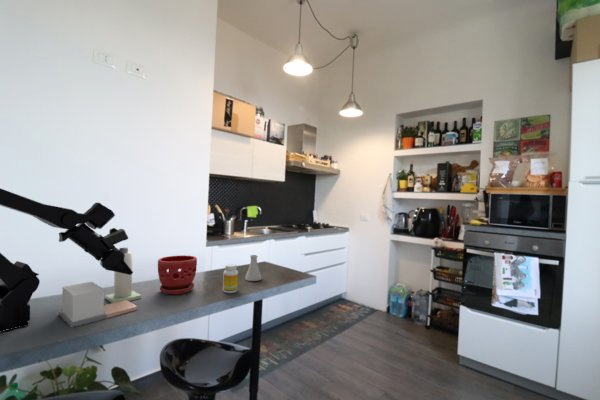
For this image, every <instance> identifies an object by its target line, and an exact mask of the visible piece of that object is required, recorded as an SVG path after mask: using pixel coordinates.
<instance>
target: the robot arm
mask: <svg viewBox="0 0 600 400" xmlns="http://www.w3.org/2000/svg"><path fill="white" fill-rule="evenodd" d="M0 206H1V207H3V208H6V209H10V210H13V211H16V212H19V213H22V214H26V215H29V216H32V217H33V218H36V219H37V220H39V221H40V222H42V223H44V224H46V225H48V226H50V227H52V228H57V229H62V230H63V229H64V230H65V231H61V232H59V233H58V236H59V238H58V242H59V243H61V242H62V243H63V242H65V241H67V240H70V241H71V242H72V243H74V244H75V245H77V246H78V247H79V248H81V249H82V250H83V251H84V252H85V253H88V254H89V255H90V256H92V257H93V258H94V259H95V260H96V261H97V262H99V265H100V266H101V267H102V268H103V269H105V270H106V271H111V272H114V271H115V272H119V273H124V274H128V275H131V274H132V275H133V273H134V271H133V269H132V270H131V269H130V268H129V266H128V265H127V264H126V263H125V262H124V257H125V255H124V253H123V252H121V251H120V250H119V249H118V248H117V247H116V245H117V244H119V243H122V242H124V241H127V240H128V239H129V235H128V234H127V232H126V230H125V229H124V228H119V229H117V228H115V227H113V228H110V229H109V232H108V234H106V235H105V236H103V235H102V234H98V232H96V231H95V230H96V229H99V230H102V229H103V227H105V225H107V224H108V223H109V222H110V221H111V220H112V219H113V218H114V217H115V216H116V215H115V212H114V211H113V210H111V209H110V208H109V207H106V206H105V205H103V204H102V203H101V202H94V203H93V204H92V206H91V207H90V208H89V209H87V210H85V212H84V213H82V212H81V213H80V212H78V211H76V210H74V209H70V208H66V207H60V206H56V205H55V206H54V205H50V204H45V203H42V202H38V201H36V200H33V199H31V198H28V197H25V196H22V195H20V194H17V193H14V192H12V191H8V190H6V189H4V188H0ZM39 275H40V274H39V273H37V272H35V271H33V269H32V268H31V267H30V265H29V264H28V263H25V262H22V261H18V260H17V261H15V262H14V263H13V262H12V261H11V260H9V259H8V258H7V257H6V256H5V255H3V254H2V253H1V252H0V331H3V330H6V329H11V328H15V327H19V326H24V325H28V324H29V321H30V320H31V305H30V304H29V302H30V300H31V298H32V296H33V294H34V293H35V291H37V289H38V287H39V286H40V282H41V281H40V279H39V277H38V276H39ZM28 326H29V325H28ZM24 327H25V326H24ZM3 332H4V331H3Z"/></svg>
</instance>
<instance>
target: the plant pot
mask: <svg viewBox="0 0 600 400" xmlns="http://www.w3.org/2000/svg"><path fill="white" fill-rule="evenodd" d="M197 266H198V258H197V257H196V256H193V255H170V256H164V257H160V258H159V259H158V260H157V273H158V275H157V276H158V279H159V282H160V284H161V285H160V286H159V290H160V292H161V293H163V294H166V295H181V294H182V295H183V294H186V293H189V292H190V291H192V290H193V289H194V288H195V282H194V279H195V277H196V273H197ZM179 270H180V271H179Z"/></svg>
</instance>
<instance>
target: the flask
mask: <svg viewBox="0 0 600 400" xmlns="http://www.w3.org/2000/svg"><path fill="white" fill-rule="evenodd" d="M249 257H250V262H249V263H250V264H249V266H248V269H247V272H246V274H245V277H244V280H245V281H248V282H256V281H257V282H258V281H262V275H261V273H260V269H259V266H258V255H257V254H251V255H250V256H249Z"/></svg>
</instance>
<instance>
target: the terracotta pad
mask: <svg viewBox="0 0 600 400" xmlns="http://www.w3.org/2000/svg"><path fill="white" fill-rule="evenodd" d="M137 310H138V305H135V304H134V303H132V302H131V301H127V300H123V301H119V302H115V303H111V302H110V303H107V304H104V313H106V314H107V318H106V319H109V318H112V317H116V316H119V315H120V316H121V315H123V314H126V313H127V314H128V313H131V312H134V311H137Z"/></svg>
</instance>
